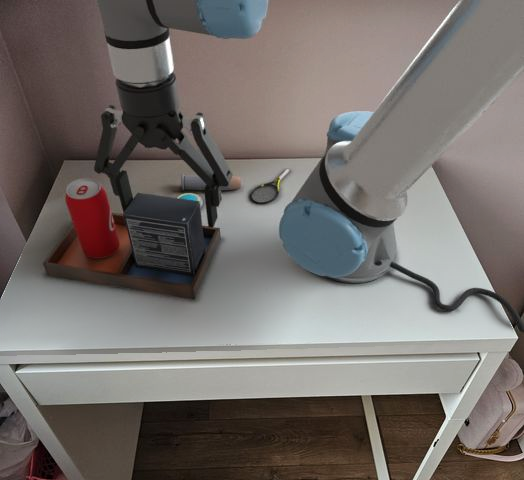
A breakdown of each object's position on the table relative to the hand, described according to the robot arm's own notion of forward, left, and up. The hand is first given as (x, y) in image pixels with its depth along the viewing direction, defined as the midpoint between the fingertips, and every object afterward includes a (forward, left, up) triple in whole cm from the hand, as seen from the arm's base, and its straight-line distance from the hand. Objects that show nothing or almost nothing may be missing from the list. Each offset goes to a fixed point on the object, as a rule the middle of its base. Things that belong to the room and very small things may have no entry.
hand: (171, 217), depth 81 cm
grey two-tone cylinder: (0, -22, -6) cm, 23 cm away
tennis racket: (-9, -25, -8) cm, 28 cm away
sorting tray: (+7, +1, -8) cm, 11 cm away
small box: (+1, +1, -8) cm, 8 cm away
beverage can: (+13, +1, -8) cm, 15 cm away
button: (+3, -15, -8) cm, 17 cm away
